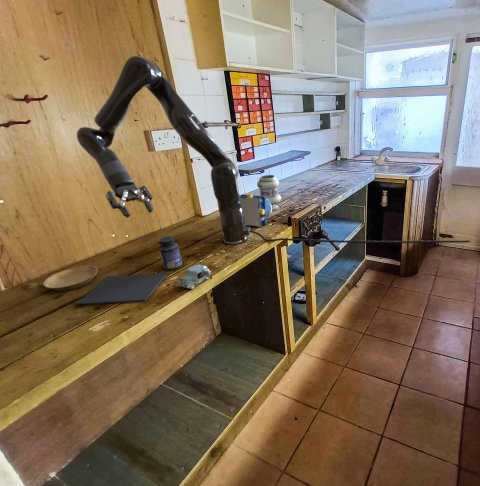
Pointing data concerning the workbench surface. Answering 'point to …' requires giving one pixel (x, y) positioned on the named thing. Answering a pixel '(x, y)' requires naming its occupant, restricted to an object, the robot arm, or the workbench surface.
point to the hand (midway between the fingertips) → (140, 213)
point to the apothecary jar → (269, 189)
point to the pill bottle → (170, 253)
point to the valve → (255, 209)
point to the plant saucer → (71, 278)
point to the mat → (123, 289)
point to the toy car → (194, 276)
